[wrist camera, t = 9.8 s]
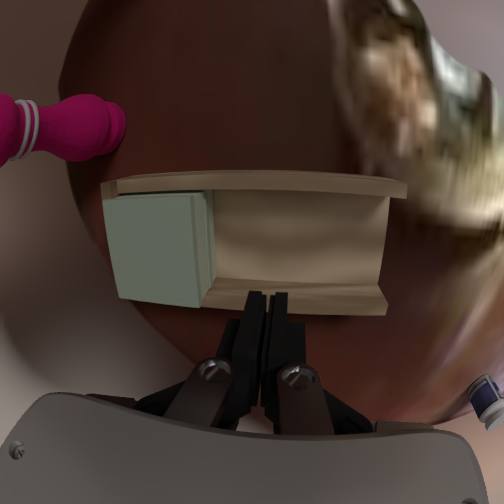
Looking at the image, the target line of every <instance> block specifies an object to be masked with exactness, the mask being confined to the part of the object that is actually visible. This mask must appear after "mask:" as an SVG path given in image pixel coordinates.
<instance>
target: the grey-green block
mask: <svg viewBox="0 0 504 504" xmlns="http://www.w3.org/2000/svg"><path fill="white" fill-rule="evenodd" d="M103 210H104V218H105V225H106V232H107V239H108V245H109V251H110V256H111V261H112V267H113V271H114V276H115V281H116V285H117V290H118V294H119V298H124V299H130V300H137V301H144V302H152V303H160V304H168V305H176V306H185V307H194V308H200V306H201V305H202V300H203V298H204V296H205V295H206V293H207V291H208V290H209V288H211V287H212V286H213V281H214V280H215V278H216V276H217V270H216V254H215V235H214V213H213V189H207V190H171V191H149V192H132V193H125V195H122V196H119V197H116V198H113V199H106V200H103Z"/></svg>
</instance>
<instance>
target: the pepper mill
mask: <svg viewBox="0 0 504 504" xmlns="http://www.w3.org/2000/svg"><path fill="white" fill-rule="evenodd" d="M125 130H126V118H125V114H124V112H123V110H122V108H121V107H120V106H119V105H117V104H115V103H112V102H106V101H103V100H102V99H101V98H100V97H98V96H96V95H92V94H80V95H75V96H72V97H69V98H67V99H65V100H63V101H61V102H59V103H57V104H55V105H52V106H46V107H40V106H36V104H35V103H34V102H33V101H31V100H25V101H24V100H17V101H14V100H13V99H12V97H10V96H8V95H6V94H1V93H0V167H1V166H3V165H4V164H5V163H6V162H7V160H10V161H14V160H16V159H24V158H25V157H26V156H28V155H29V153H30V152H32V151H38V150H44V151H48V152H50V153H52V154H54V155H56V156H57V157H59V158H61V159H64V160H67V161H71V162H82V161H86V160H89V159H90V158H92V157H94V156H95V155H104V154H108V153H110V152H112V151H113V150H115V149H116V148H117V147H118V145H119V144H120V142H121V141H122V139H123V136H124V133H125Z"/></svg>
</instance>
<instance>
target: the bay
mask: <svg viewBox="0 0 504 504" xmlns="http://www.w3.org/2000/svg"><path fill="white" fill-rule="evenodd" d="M100 184H101V195H102V204H103V200H106V199H113V198H116V197H119V196H122V195H125V193H132V192H149V191H171V190H207V189H213V213H214V235H215V254H216V270H217V276H216V278H215V280H214V281H213V286H212V287H211V288H209V290H208V291H207V293H206V295H205V296H204V298H203V300H202V305H201V306H200V307H209V308H220V309H232V310H244V307H245V303H246V300H247V296H248V293H249V290H252V291H262V294H265V295H267V308H266V312H268V308H269V301H270V295H275V293H276V292H288V309H287V313H295V314H322V315H386V311H387V307H388V303H387V301H386V299H385V297H384V295H383V294H382V292H381V290H380V288H379V286H378V285H377V284H378V279H379V273H380V268H381V262H382V256H383V250H384V243H385V236H386V228H387V220H388V210H389V200H390V197H395V198H405V199H406V197H407V185H408V184H406V183H403V182H400V181H396V180H393V179H390V178H385V177H376V176H366V175H355V174H342V173H328V172H310V171H282V170H218V171H191V172H173V173H158V174H146V175H135V176H130V177H125V178H121V179H116V180H112V181H108V182H104V183H100ZM103 213H104V210H103ZM104 220H105V218H104ZM105 227H106V225H105ZM106 234H107V232H106ZM107 240H108V239H107ZM108 246H109V245H108ZM109 252H110V251H109ZM110 258H111V256H110ZM111 263H112V261H111ZM112 268H113V267H112ZM113 273H114V271H113ZM114 278H115V276H114ZM115 282H116V281H115ZM116 286H117V285H116ZM117 291H118V290H117ZM118 295H119V294H118ZM119 299H120V302H124V303H130V302H131V301H132V300H130V299H124V298H119Z"/></svg>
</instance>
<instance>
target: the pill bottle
mask: <svg viewBox="0 0 504 504" xmlns="http://www.w3.org/2000/svg"><path fill="white" fill-rule="evenodd" d="M468 397H469V399H470V401H471V403H472V405H473V408H474V410H475V412H476V414H477V416H478V418H479V420H480V422H482V423H485V427H486V430H487V431H491V430H493V429H495V428H496V427H497V426H499V425H500V424H501V423H502V422H503V421H504V397H503V395H502V394H501V392H500V390H499V388H498V387H497V385H496V383H495V382H494V380H493V378H492V377H491V376H490V375H484V376H482V377H480V378H479V379H478V380H476V381H475V382H474V383H473V384H472V385H471V387H470V388H469V390H468Z"/></svg>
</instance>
